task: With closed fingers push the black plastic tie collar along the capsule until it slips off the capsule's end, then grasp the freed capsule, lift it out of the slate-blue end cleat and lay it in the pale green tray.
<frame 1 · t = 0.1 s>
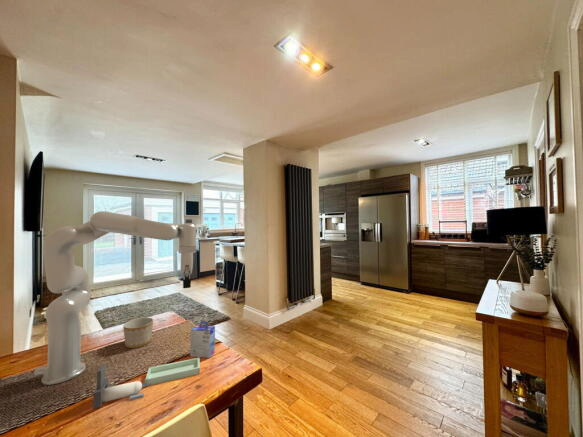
hand: (187, 285, 110), 31 cm above the table, fingers open, 9 cm apart
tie: (101, 384, 79), point 6 cm above the table, slide at 0.0 cm
ink cartridge box: (202, 354, 107), on the table
tray: (174, 373, 93), on the table
planter: (138, 343, 117), on the table
cleat: (138, 392, 83), on the table
capsule: (118, 397, 81), on the table
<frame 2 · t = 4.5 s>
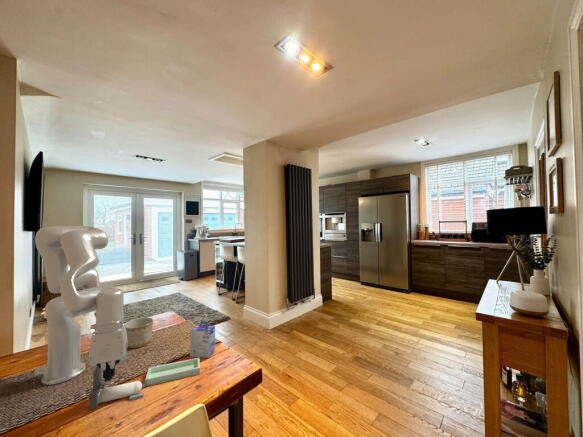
hand: (108, 378, 80), 7 cm above the table, fingers closed
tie: (97, 385, 79), point 6 cm above the table, slide at 1.1 cm, touching gripper
everything else where it was.
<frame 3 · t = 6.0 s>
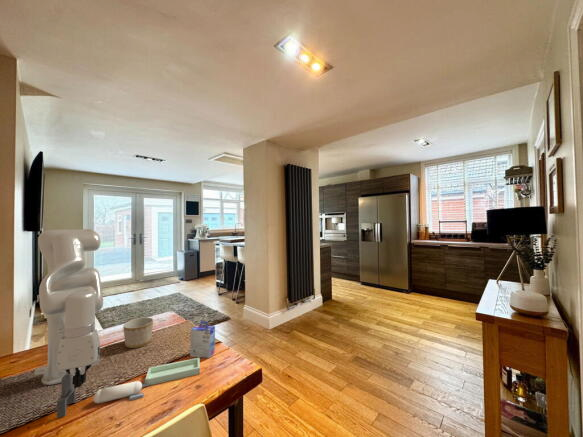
hand: (79, 385, 77), 7 cm above the table, fingers closed
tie: (66, 391, 76), point 6 cm above the table, slide at 9.1 cm, touching gripper
everything else where it was.
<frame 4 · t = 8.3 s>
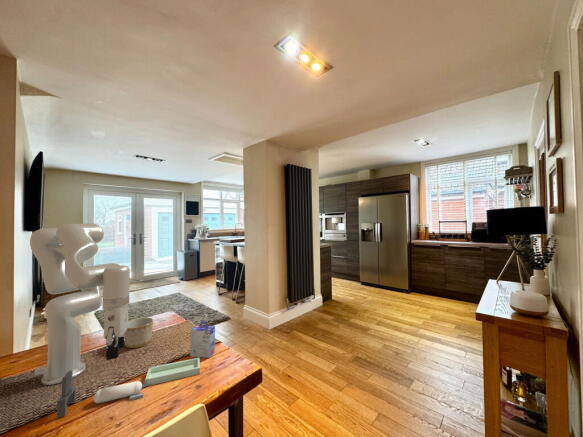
hand: (115, 352, 81), 16 cm above the table, fingers open, 6 cm apart
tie: (67, 391, 76), point 6 cm above the table, slide at 9.0 cm
everything else where it was.
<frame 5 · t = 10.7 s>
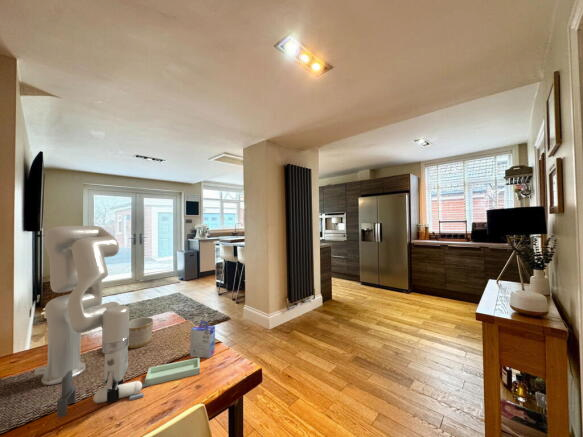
hand: (115, 395, 80), 1 cm above the table, fingers closed on capsule, 4 cm apart
capsule: (118, 397, 81), on the table, touching gripper
everything else where it was.
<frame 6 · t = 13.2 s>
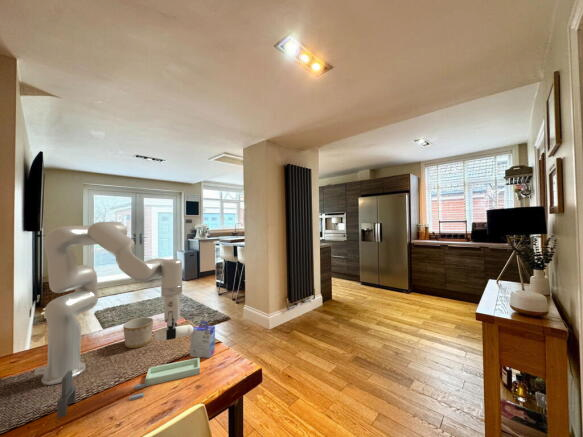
hand: (171, 335, 93), 16 cm above the table, fingers closed on capsule, 4 cm apart
capsule: (174, 337, 93), point 15 cm above the table, touching gripper
everything else where it was.
when the fingers open (3 cm above the table, at t = 16.0 s): capsule drops 1 cm, resting on tray.
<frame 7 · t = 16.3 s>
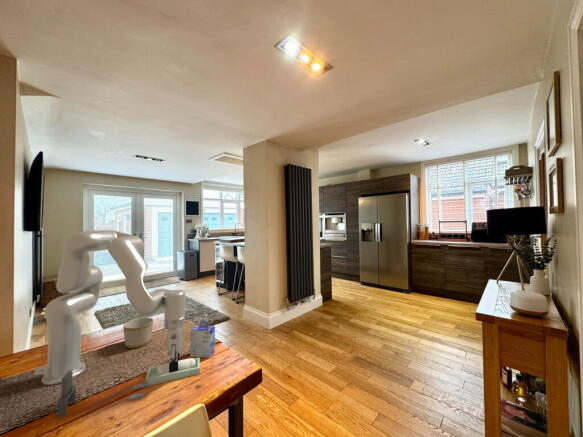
hand: (174, 365, 93), 3 cm above the table, fingers open, 6 cm apart
capsule: (176, 371, 94), point 1 cm above the table, touching tray
everything else where it was.
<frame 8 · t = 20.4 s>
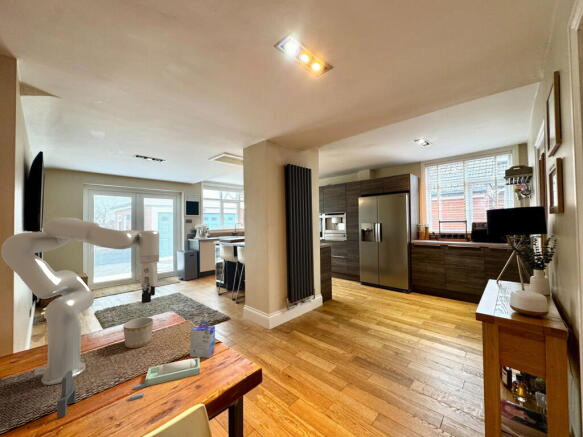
hand: (148, 298, 99), 28 cm above the table, fingers open, 9 cm apart
capsule: (176, 371, 94), point 1 cm above the table, tilted 12°, touching tray
everything else where it was.
at the end: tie slide at 9.0 cm; capsule inside the target area on the tray (0.9 cm from its centre), point 0.6 cm above the tray's base; the gripper is holding nothing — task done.
